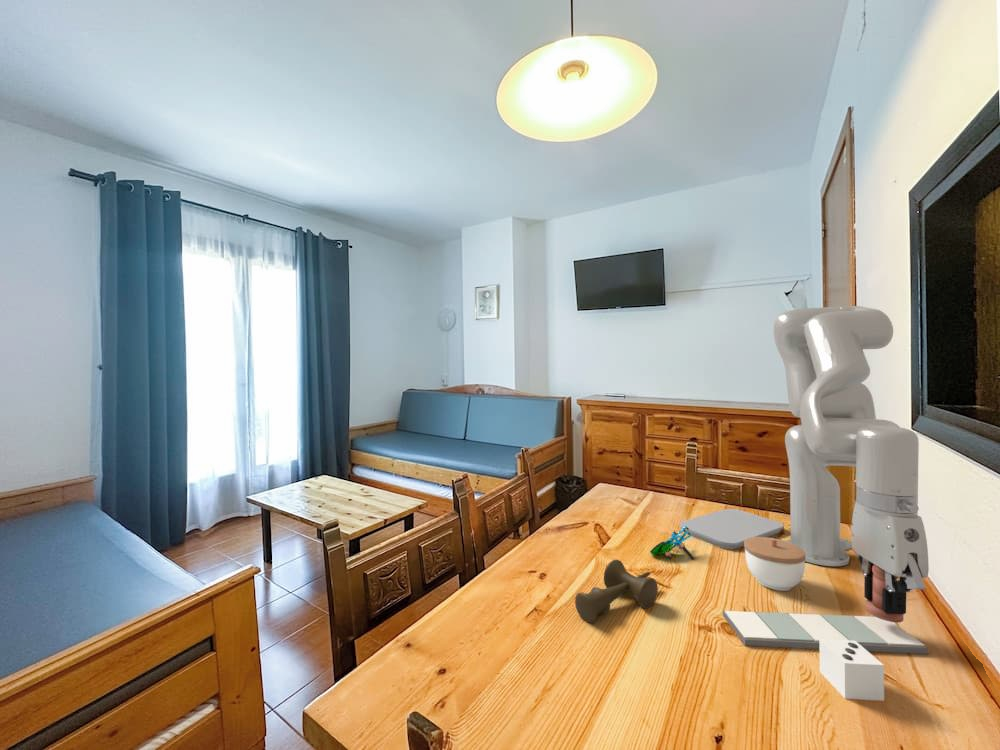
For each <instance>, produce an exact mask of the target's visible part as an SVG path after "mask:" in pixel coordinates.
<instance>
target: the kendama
mask: <svg viewBox="0 0 1000 750" xmlns="http://www.w3.org/2000/svg"><path fill="white" fill-rule="evenodd" d="M650 575H651V572H649V571H647V572H645V573H642V574H640V575H638V576H635V575H633V574H631V573H630V572H628V571H627V569H626V567H625V566H624V564H623V562H622V560H620V559H612V560H611V561H610V562H609V563H608V564H607V565H606V567H605V569H604V573H603V584H604V586H605V588H600V587H597V586H595V587H592V589H591V590H590V592H587V593H584V592H578V593H577V594H576V595H575V600H574V603H575V608H576V611H577V613H578V615H579V616H580V618H581V619H582V620H583V621H585V622H587V623H589V624H594V623H595V622H596V621H597V618H598V615H599V614H600V613H608V612H609V611H610V608H611V604H612V603H613V602H614V601H615V600H616V599H617V598H618V597H619V596H620V595H622V594H623V593H624V592H626V591H627V592H629V593H630V594H631V595H632V596H634V598H635V599H636V601H637V603H638V604H639V606H640V607H641V608H643V609H648V608H649V607H650V608H651V606H652V605H654V604H655V602H656V600H657V597H658V591H659V587H658V583H657V581H656V580H657V579H654V578H652V577H649V576H650Z"/></svg>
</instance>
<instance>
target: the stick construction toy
mask: <svg viewBox="0 0 1000 750" xmlns="http://www.w3.org/2000/svg"><path fill="white" fill-rule="evenodd" d="M685 529H687V530H689V528H688V527H687V526H686V527H684V528H683V529H682V528H681V530H679V532H676V531H675V530H672V534H671V537H670V538H668V539H666V540H665V541H662V542H659V543H658V544H656V545H655V546H654V547H653V548H652V549H651V550H650V551H649V552H650V554H651V556H655V555H657V554H659V555H663V554H664V556H666V557H667V558H668V559H669V560H670V561H671V560H672V559H673V557H672V555H671V554H670V552H671V551H672V550H673V549H674V548H676V547H677V548H678V549H680V550H683V551H684V552H685V554H686V555H687V556H688V557H689V559H691V561H693V560H695V557H694V555H692V554H691V552H690V551H689V550H688V549H687V547H686V544H685V543H684V542H685V541H687V540H688V539H690V538H691V537H693V536H692V535H691V534H690V533H688V534H687V532H686V531H685ZM683 531H684V532H685V533H684V532H683ZM682 533H683V534H682ZM681 534H682V535H681ZM686 535H688V536H686Z"/></svg>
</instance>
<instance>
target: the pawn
mask: <svg viewBox="0 0 1000 750" xmlns="http://www.w3.org/2000/svg"><path fill="white" fill-rule="evenodd" d="M872 571H873V600H868V599H866V602H865V604H866V606H865V608H866V609H865V610H866V611H867V612H868V613H869V614H870V615H872V616H875V617H877V618H880V619H882V620H885V621H889V622H893V623H901V622H903V621H904V619H905V618H904V617H905V616H904V615H905V614H887V613H885V612H884V611H883V610H882V590H883V588H886V581H885V570H883V569H881V568H880V567H878V566H876V565H875V564H874V565H873V566H872ZM898 578H899V577H895V582H896V581H898Z"/></svg>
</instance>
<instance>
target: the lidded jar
mask: <svg viewBox="0 0 1000 750" xmlns="http://www.w3.org/2000/svg"><path fill="white" fill-rule="evenodd" d="M786 541H787V540H782V539H779V538H773V537H770V536H769V537H751V538H748V539H746V540H745V541H744V546H743V547H744V556H745V562H746V565H747V567H748V568H747V569H748V570H749V572H750V573H751V575H752V576H753V577H754V578H755V579H756V580H757V582H758V583H759V584H760V585H761V586H763V587H764V588H766V589H767V588H768V589H771V590H772V591H773V590H774V591H780V592H788V591H791V590H792V588H794V587H795V586H798V584H799V583H800V582H801V581H802V579H803V577H804V573H805V568H806V566H805V565H806V563H805V562H806V561H805V552H804V551H803V550H802V549H801V548H800V547H798V546H796V545H794V544H792V543H789V542H786Z"/></svg>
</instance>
